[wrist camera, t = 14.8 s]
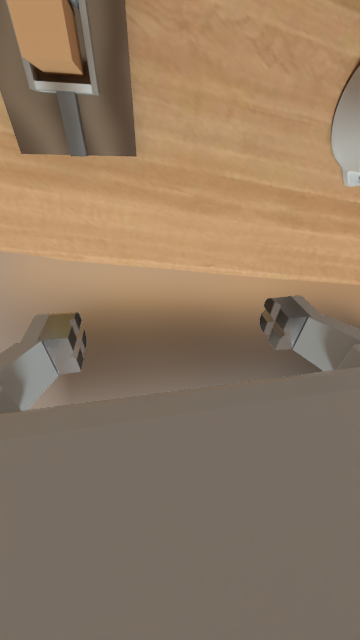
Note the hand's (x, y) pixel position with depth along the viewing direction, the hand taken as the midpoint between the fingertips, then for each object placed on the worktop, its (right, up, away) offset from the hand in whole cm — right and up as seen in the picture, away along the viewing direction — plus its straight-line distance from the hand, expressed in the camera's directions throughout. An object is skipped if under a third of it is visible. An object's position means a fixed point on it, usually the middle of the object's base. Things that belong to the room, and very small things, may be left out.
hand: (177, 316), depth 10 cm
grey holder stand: (-13, +29, +14) cm, 35 cm away
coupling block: (-12, +28, +13) cm, 33 cm away
